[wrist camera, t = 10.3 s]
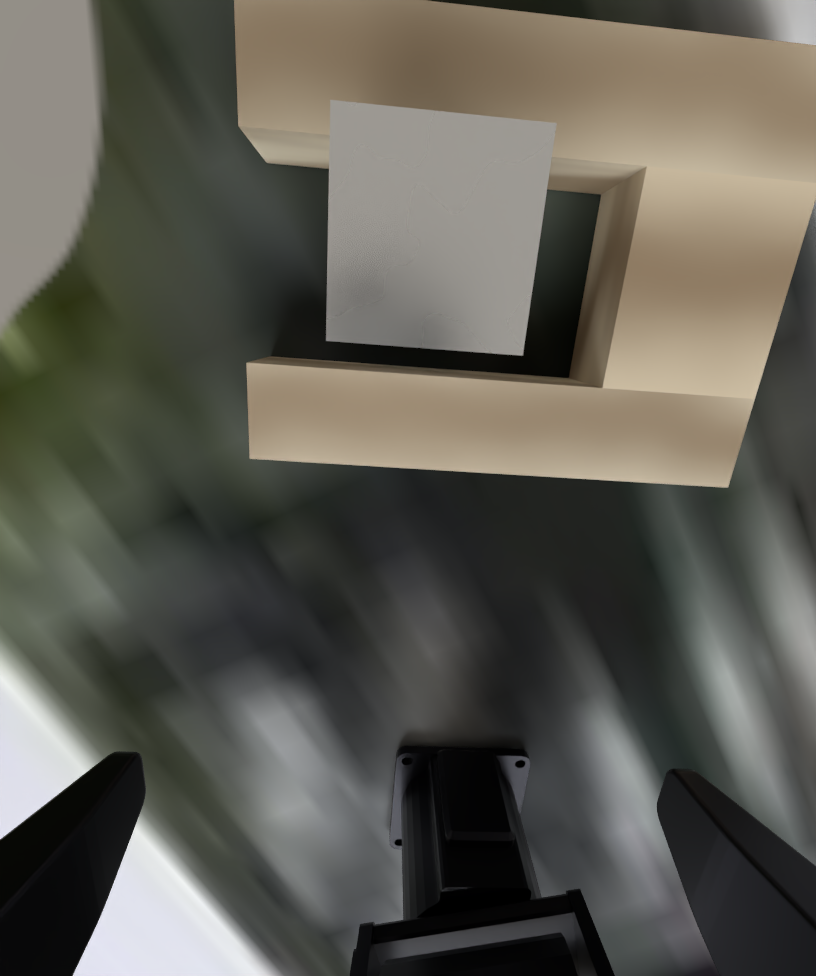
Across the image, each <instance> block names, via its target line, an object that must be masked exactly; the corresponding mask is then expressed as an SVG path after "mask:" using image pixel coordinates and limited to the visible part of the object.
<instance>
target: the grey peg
mask: <svg viewBox="0 0 816 976" xmlns="http://www.w3.org/2000/svg"><path fill="white" fill-rule="evenodd" d="M556 125H557V123H550V122H541V121H531V120H521V119H512V118H502V117H492V116H483V115H473V114H463V113H454V112H444V111H434V110H425V109H415V108H405V107H396V106H386V105H376V104H367V103H357V102H347V101H338V100H330V144H329V200H328V255H327V311H326V341H334V342H347V343H361V344H374V345H387V346H400V347H414V348H427V349H440V350H453V351H467V352H480V353H493V354H506V355H520V356H523V351H524V344H525V337H526V331H527V324H528V317H529V310H530V303H531V296H532V289H533V283H534V276H535V269H536V262H537V255H538V248H539V241H540V234H541V228H542V221H543V214H544V207H545V200H546V193H547V186H548V179H549V173H550V166H551V159H552V152H553V145H554V138H555V131H556Z"/></svg>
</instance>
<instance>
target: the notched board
mask: <svg viewBox="0 0 816 976" xmlns="http://www.w3.org/2000/svg"><path fill="white" fill-rule="evenodd" d="M234 13H235V42H236V72H237V101H238V126H239V128H240V129H241V130H242V131H243V133H244V134H245V135H246V137H247V138H248V139H249V141H250V142H251V143H252V144H253V146H254V147H255V148H256V150H257V151H258V152H259V154H260V155H261V156H262V158H263V159H264V160H265V161H266V163H273V164H283V165H294V166H305V167H315V168H326V169H329V144H330V100H338V101H347V102H357V103H367V104H376V105H386V106H396V107H405V108H415V109H425V110H434V111H444V112H454V113H463V114H473V115H483V116H492V117H502V118H512V119H521V120H531V121H541V122H550V123H557V125H556V131H555V138H554V145H553V152H552V159H551V166H550V173H549V179H548V186H547V189H548V190H558V191H569V192H579V193H590V194H600V195H601V199H600V205H599V210H598V216H597V222H596V227H595V233H594V239H593V244H592V250H591V256H590V261H589V267H588V272H587V278H586V284H585V289H584V295H583V301H582V306H581V312H580V318H579V323H578V329H577V334H576V340H575V346H574V351H573V357H572V363H571V368H570V374H569V378H561V377H548V376H534V375H520V374H506V373H492V372H479V371H465V370H451V369H437V368H423V367H410V366H396V365H382V364H368V363H354V362H341V361H327V360H313V359H299V358H286V357H272V356H270V357H266V358H262V359H258V360H255V361H251V362H247V363H246V364H247V393H248V422H249V451H250V459H263V460H279V461H296V462H312V463H329V464H345V465H362V466H378V467H395V468H411V469H428V470H444V471H461V472H477V473H494V474H510V475H527V476H543V477H560V478H576V479H593V480H609V481H626V482H642V483H659V484H675V485H692V486H708V487H725V488H728V486H729V482H730V479H731V476H732V472H733V469H734V466H735V463H736V459H737V456H738V453H739V449H740V446H741V443H742V440H743V436H744V433H745V430H746V426H747V423H748V420H749V417H750V413H751V410H752V407H753V403H754V400H755V397H756V393H757V390H758V387H759V384H760V380H761V377H762V374H763V370H764V367H765V364H766V361H767V357H768V354H769V351H770V347H771V344H772V341H773V338H774V334H775V331H776V328H777V324H778V321H779V318H780V315H781V311H782V308H783V305H784V301H785V298H786V295H787V291H788V288H789V285H790V282H791V278H792V275H793V272H794V268H795V265H796V262H797V259H798V255H799V252H800V249H801V245H802V242H803V239H804V236H805V232H806V229H807V226H808V222H809V219H810V216H811V212H812V209H813V206H814V203H815V199H816V45H808V44H799V43H791V42H782V41H773V40H765V39H756V38H747V37H739V36H730V35H721V34H713V33H704V32H695V31H687V30H678V29H669V28H661V27H652V26H643V25H635V24H626V23H617V22H609V21H600V20H591V19H583V18H574V17H565V16H557V15H548V14H539V13H531V12H522V11H513V10H505V9H496V8H487V7H479V6H470V5H461V4H453V3H444V2H435V1H427V0H234Z"/></svg>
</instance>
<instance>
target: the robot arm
mask: <svg viewBox="0 0 816 976" xmlns="http://www.w3.org/2000/svg"><path fill="white" fill-rule="evenodd" d="M405 757H409V758H405ZM518 760H520V761H518ZM529 769H530V759H529V756H528V754H527V752H526V751H524V750H521V749H494V748H459V747H424V746H404V747H401V748H400V749H399V750H398V751H397V754H396V766H395V777H394V789H393V801H392V813H391V824H390V845H391V847H393V848H395V849H402V873H403V920H401V921H394V922H388V923H382V924H376V925H375V923H374V922H369V923H363V924H360V928H359V934H358V941H357V948H356V949H354V951H353V957H352V964H351V970H350V976H615V975H614V973H613V970H612V968H611V965H610V963H609V960H608V958H607V955H606V953H605V950H604V948H603V945H602V943H601V940H600V938H599V935H598V933H597V930H596V928H595V925H594V923H593V920H592V918H591V915H590V913H589V910H588V908H587V905H586V903H585V900H584V898H583V895H582V893H581V890H580V889H574V890H568V891H566V894H562V895H556V896H550V897H544V898H541V894H540V890H539V886H538V882H537V879H536V875H535V871H534V867H533V863H532V860H531V856H530V852H529V848H528V844H527V841H526V837H525V833H524V829H523V825H522V822H521V818H520V813H521V808H522V803H523V798H524V793H525V788H526V783H527V779H528V774H529ZM145 794H146V786H145V778H144V770H143V762H142V757H141V755H140V754H139V753H137V752H114V753H112V754H110V755H108V756H107V757H106V758H104V759H103V760H102V761H100V762H99V763H98V764H97V765H95V766H94V767H93V768H91V769H90V770H89V771H88V772H86V773H85V774H84V775H82V776H81V777H80V778H79V779H77V780H76V781H75V782H73V783H72V784H71V785H70V786H68V787H67V788H66V789H64V790H63V791H62V792H61V793H59V794H58V795H57V796H55V797H54V798H53V799H52V800H50V801H49V802H48V803H46V804H45V805H44V806H43V807H41V808H40V809H39V810H37V811H36V812H35V813H34V814H32V815H31V816H30V817H28V818H27V819H26V820H25V821H23V822H22V823H21V824H19V825H18V826H17V827H16V828H14V829H13V830H12V831H11V832H9V833H8V834H7V835H5V836H4V837H3V838H2V839H0V976H73V973H74V971H75V969H76V967H77V965H78V963H79V961H80V959H81V957H82V955H83V953H84V950H85V948H86V946H87V944H88V942H89V940H90V938H91V936H92V934H93V931H94V929H95V927H96V925H97V923H98V920H99V918H100V916H101V914H102V911H103V909H104V906H105V904H106V901H107V899H108V896H109V893H110V891H111V888H112V885H113V883H114V880H115V878H116V875H117V872H118V870H119V867H120V864H121V862H122V859H123V856H124V854H125V851H126V849H127V846H128V843H129V841H130V838H131V835H132V833H133V830H134V827H135V825H136V822H137V820H138V817H139V814H140V812H141V809H142V806H143V803H144V799H145ZM657 813H658V817H659V821H660V823H661V826H662V829H663V832H664V835H665V837H666V840H667V843H668V846H669V848H670V851H671V854H672V857H673V860H674V862H675V865H676V868H677V871H678V874H679V876H680V879H681V882H682V885H683V887H684V890H685V893H686V896H687V899H688V901H689V904H690V907H691V909H692V912H693V915H694V917H695V920H696V922H697V925H698V927H699V930H700V932H701V934H702V937H703V939H704V941H705V943H706V946H707V948H708V950H709V952H710V955H711V957H712V959H713V961H714V963H715V966H716V968H717V970H718V972H719V975H720V976H816V866H815V865H814V864H812V863H811V862H810V861H809V860H807V859H806V858H805V857H804V856H802V855H801V854H800V853H799V852H797V851H796V850H795V849H794V848H792V847H791V846H790V845H789V844H787V843H786V842H785V841H783V840H782V839H781V838H780V837H778V836H777V835H776V834H775V833H773V832H772V831H771V830H770V829H768V828H767V827H766V826H765V825H763V824H762V823H761V822H760V821H758V820H757V819H756V818H754V817H753V816H752V815H751V814H749V813H748V812H747V811H746V810H744V809H743V808H742V807H741V806H739V805H738V804H737V803H736V802H734V801H733V800H732V799H730V798H729V797H728V796H727V795H725V794H724V793H723V792H722V791H720V790H719V789H718V788H717V787H715V786H714V785H713V784H712V783H710V782H709V781H708V780H707V779H705V778H704V777H703V776H701V775H700V774H699V773H697V772H696V771H694V770H691V769H670V770H669V771H668V772H667V773H666V776H665V779H664V782H663V785H662V788H661V792H660V795H659V798H658V801H657Z"/></svg>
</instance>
